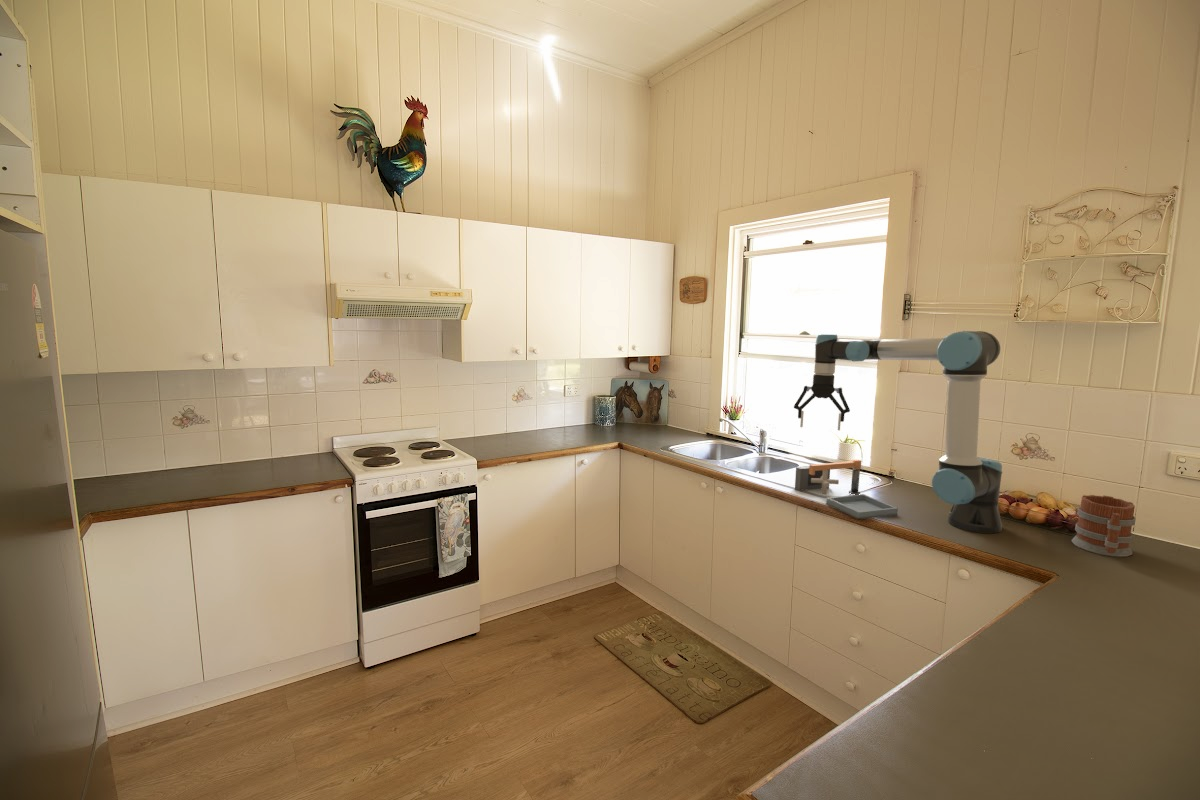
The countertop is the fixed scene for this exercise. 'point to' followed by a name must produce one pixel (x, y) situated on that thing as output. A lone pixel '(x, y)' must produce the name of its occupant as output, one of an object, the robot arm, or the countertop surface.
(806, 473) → the socket block
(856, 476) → the post
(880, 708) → the countertop surface
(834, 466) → the tan bar handle
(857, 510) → the tray
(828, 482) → the pipe connector
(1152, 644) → the countertop surface
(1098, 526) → the mug
